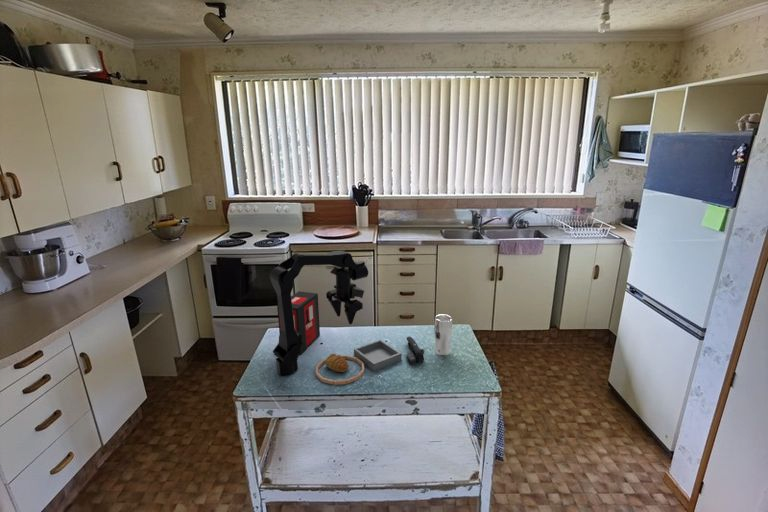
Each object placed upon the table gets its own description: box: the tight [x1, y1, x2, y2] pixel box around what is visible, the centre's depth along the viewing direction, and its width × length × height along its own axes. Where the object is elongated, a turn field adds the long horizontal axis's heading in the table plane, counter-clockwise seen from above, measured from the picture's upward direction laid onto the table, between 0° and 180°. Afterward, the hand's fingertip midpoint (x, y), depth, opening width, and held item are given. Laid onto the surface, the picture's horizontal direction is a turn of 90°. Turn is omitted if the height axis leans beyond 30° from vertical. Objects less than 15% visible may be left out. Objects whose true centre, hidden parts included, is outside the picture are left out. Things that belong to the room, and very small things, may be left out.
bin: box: [353, 339, 403, 372], centre depth 151 cm, size 13×14×3 cm
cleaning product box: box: [276, 291, 321, 356], centre depth 159 cm, size 16×9×20 cm, turn 162°
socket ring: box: [315, 354, 365, 386], centre depth 143 cm, size 17×17×1 cm
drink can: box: [433, 313, 453, 356], centre depth 153 cm, size 7×7×15 cm
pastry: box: [324, 353, 350, 373], centre depth 144 cm, size 9×7×4 cm
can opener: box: [406, 336, 425, 365], centre depth 153 cm, size 18×7×6 cm, turn 7°
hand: (344, 320), depth 155 cm, fingers open, 9 cm apart
